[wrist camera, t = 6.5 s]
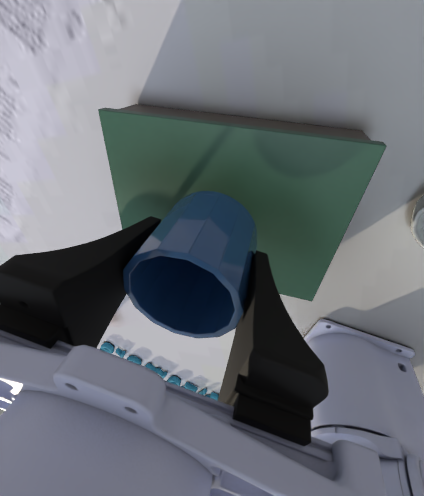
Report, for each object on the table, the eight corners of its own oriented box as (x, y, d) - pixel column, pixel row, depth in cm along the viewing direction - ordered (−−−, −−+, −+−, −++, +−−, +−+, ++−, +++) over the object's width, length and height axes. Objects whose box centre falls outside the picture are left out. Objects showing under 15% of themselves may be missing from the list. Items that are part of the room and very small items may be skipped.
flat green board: (368, 127, 15) (387, 145, 12) (309, 267, 22) (312, 301, 19) (132, 100, 17) (97, 109, 14) (149, 233, 24) (128, 258, 21)
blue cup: (271, 206, 13) (259, 277, 9) (242, 277, 17) (224, 351, 12) (174, 177, 14) (119, 231, 9) (166, 252, 17) (125, 315, 13)
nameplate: (278, 436, 46) (295, 432, 43) (278, 441, 46) (295, 437, 42) (100, 348, 44) (104, 337, 40) (98, 353, 43) (101, 341, 40)
